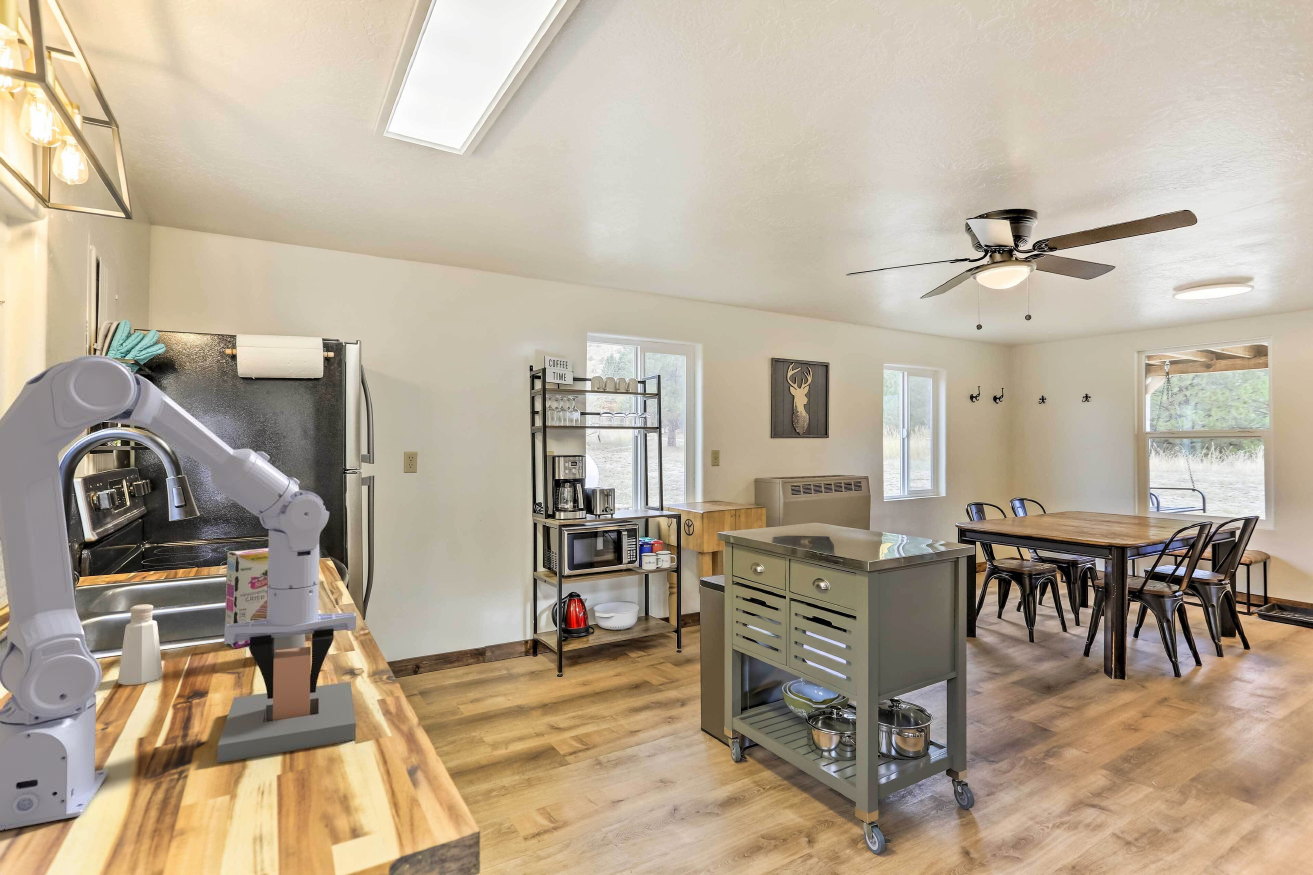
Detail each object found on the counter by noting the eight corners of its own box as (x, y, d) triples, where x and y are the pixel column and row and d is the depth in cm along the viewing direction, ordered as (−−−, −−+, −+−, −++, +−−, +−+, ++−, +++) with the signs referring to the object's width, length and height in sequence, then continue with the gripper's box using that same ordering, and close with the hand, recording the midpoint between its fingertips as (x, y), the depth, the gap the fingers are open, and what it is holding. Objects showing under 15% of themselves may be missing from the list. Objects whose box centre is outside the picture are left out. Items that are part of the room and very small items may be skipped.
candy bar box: (234, 649, 117) (235, 554, 118) (223, 644, 121) (224, 551, 121) (301, 636, 126) (302, 547, 126) (289, 631, 129) (291, 544, 129)
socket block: (355, 739, 82) (355, 722, 82) (217, 763, 75) (217, 744, 75) (350, 695, 96) (350, 681, 96) (233, 712, 90) (234, 697, 90)
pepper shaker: (171, 674, 105) (173, 602, 105) (141, 686, 99) (143, 610, 100) (139, 672, 105) (140, 601, 105) (107, 684, 100) (109, 609, 100)
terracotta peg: (309, 719, 85) (310, 654, 85) (272, 724, 83) (273, 659, 83) (309, 708, 88) (310, 646, 88) (274, 713, 87) (275, 650, 87)
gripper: (354, 574, 93) (353, 675, 92) (229, 583, 86) (228, 691, 86) (357, 584, 86) (356, 691, 86) (222, 594, 80) (221, 711, 80)
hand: (292, 693), depth 86 cm, fingers closed on terracotta peg, 4 cm apart
